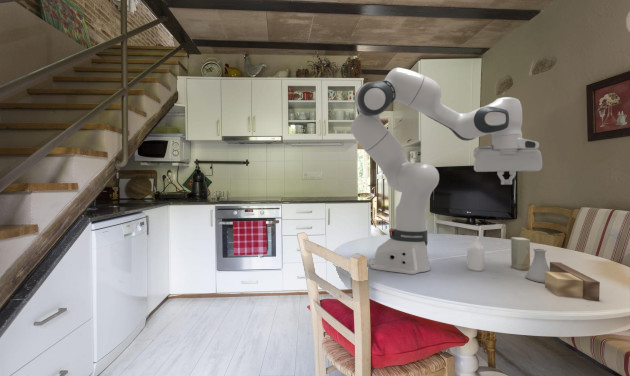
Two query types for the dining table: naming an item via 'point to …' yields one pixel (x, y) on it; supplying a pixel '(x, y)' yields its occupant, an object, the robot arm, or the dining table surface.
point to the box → (520, 253)
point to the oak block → (564, 284)
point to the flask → (538, 266)
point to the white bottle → (475, 255)
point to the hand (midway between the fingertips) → (506, 184)
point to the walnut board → (589, 285)
